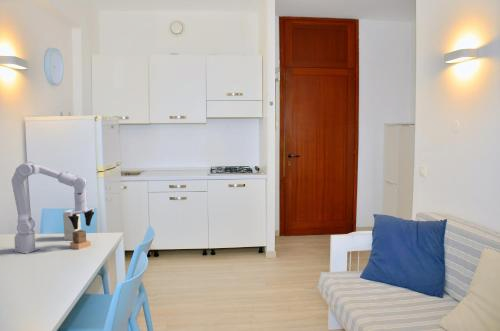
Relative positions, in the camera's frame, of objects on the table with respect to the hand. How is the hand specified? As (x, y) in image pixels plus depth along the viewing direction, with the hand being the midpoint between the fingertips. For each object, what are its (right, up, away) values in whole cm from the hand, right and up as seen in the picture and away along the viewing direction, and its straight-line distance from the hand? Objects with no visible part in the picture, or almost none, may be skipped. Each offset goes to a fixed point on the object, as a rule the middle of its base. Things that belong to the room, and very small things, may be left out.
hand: (82, 227), depth 216 cm
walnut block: (-1, -8, 0) cm, 8 cm away
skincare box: (-12, -9, +16) cm, 22 cm away
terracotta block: (-1, -11, +1) cm, 11 cm away
